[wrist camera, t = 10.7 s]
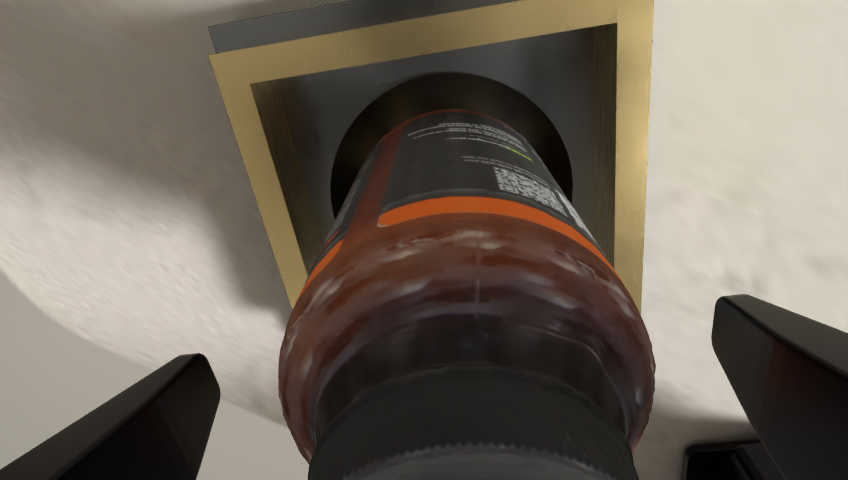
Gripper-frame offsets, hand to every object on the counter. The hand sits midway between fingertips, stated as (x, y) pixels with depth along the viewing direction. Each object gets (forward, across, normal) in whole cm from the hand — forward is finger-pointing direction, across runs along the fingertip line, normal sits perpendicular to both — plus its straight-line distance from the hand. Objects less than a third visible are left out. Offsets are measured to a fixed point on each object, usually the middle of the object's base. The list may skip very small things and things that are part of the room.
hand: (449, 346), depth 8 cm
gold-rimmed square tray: (+9, 0, 0) cm, 9 cm away
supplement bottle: (+8, 0, 0) cm, 8 cm away
